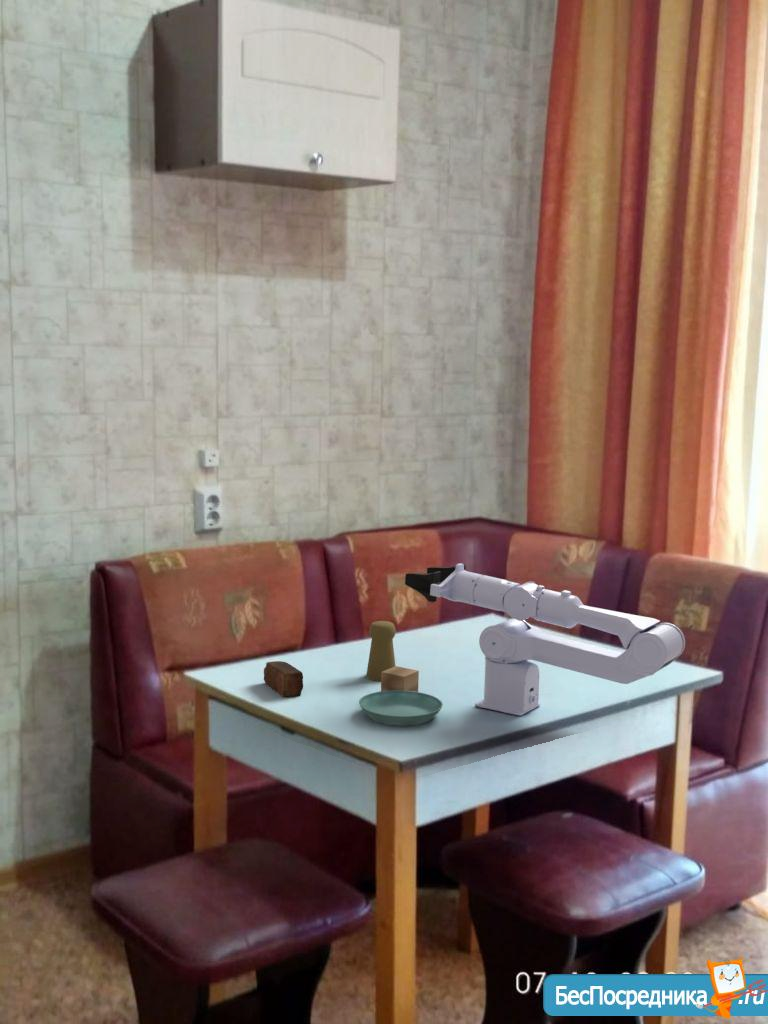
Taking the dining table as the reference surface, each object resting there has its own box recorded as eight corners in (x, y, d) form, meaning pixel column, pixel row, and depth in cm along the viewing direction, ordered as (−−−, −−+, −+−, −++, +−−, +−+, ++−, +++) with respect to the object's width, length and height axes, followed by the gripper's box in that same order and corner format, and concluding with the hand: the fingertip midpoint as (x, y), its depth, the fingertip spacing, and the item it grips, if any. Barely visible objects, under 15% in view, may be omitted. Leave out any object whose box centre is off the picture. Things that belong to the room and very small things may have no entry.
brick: (303, 696, 219) (304, 671, 218) (283, 699, 217) (283, 674, 216) (282, 681, 228) (282, 657, 227) (263, 683, 226) (263, 659, 226)
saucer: (350, 726, 202) (351, 711, 202) (367, 701, 217) (367, 687, 216) (436, 733, 200) (436, 718, 200) (447, 707, 214) (447, 693, 214)
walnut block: (418, 696, 220) (418, 670, 219) (403, 703, 216) (404, 676, 215) (395, 692, 222) (396, 666, 222) (380, 698, 218) (381, 672, 218)
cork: (360, 678, 231) (361, 623, 229) (375, 670, 236) (376, 617, 234) (387, 682, 228) (389, 627, 226) (402, 675, 233) (403, 620, 232)
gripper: (501, 563, 220) (438, 549, 228) (462, 575, 208) (398, 560, 215) (497, 600, 222) (435, 585, 229) (459, 613, 210) (394, 597, 217)
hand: (417, 575), depth 222 cm, fingers open, 7 cm apart
